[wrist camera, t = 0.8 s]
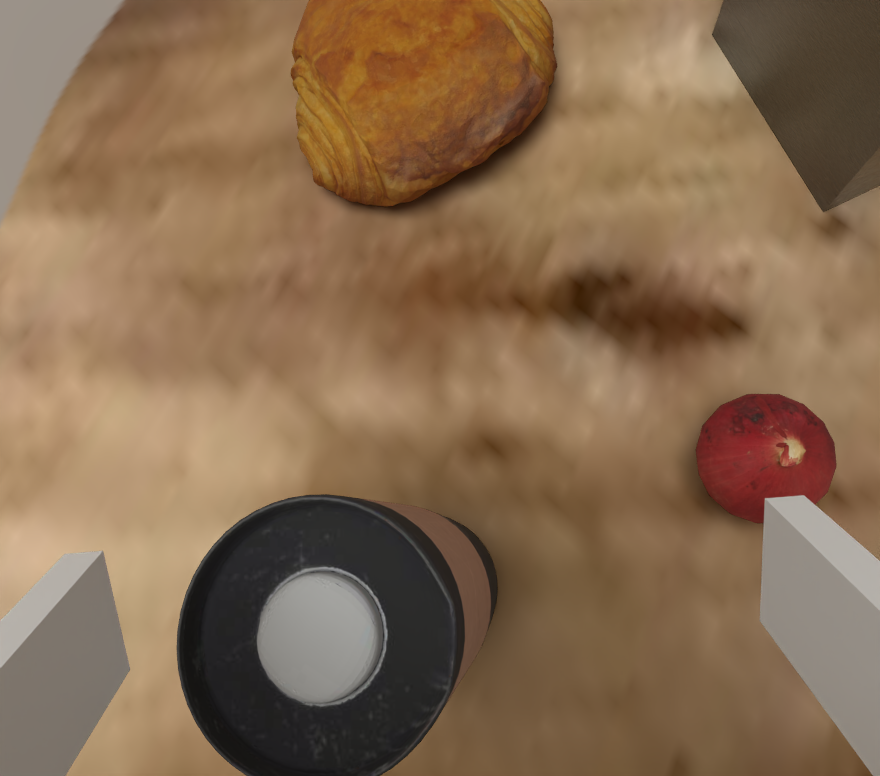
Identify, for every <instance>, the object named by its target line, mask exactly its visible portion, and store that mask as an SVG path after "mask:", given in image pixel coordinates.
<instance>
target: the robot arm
mask: <svg viewBox="0 0 880 776" xmlns="http://www.w3.org/2000/svg"><path fill="white" fill-rule="evenodd" d="M760 622H761V623H762V624H763V626H764V627H765V629H766V630H767V631H768V633H769V634H770V635H771V637H772V638H773V640H774V641H775V642H776V644H777V645H778V646H779V648H780V649H781V650H782V652H783V653H784V655H785V656H786V657H787V659H788V660H789V661H790V663H791V664H792V666H793V667H794V668H795V670H796V671H797V672H798V674H799V675H800V676H801V678H802V679H803V681H804V682H805V683H806V685H807V686H808V687H809V689H810V690H811V691H812V693H813V694H814V696H815V697H816V698H817V700H818V701H819V702H820V704H821V705H822V707H823V708H824V709H825V711H826V712H827V713H828V715H829V716H830V717H831V719H832V720H833V722H834V723H835V724H836V726H837V727H838V728H839V730H840V731H841V733H842V734H843V735H844V737H845V738H846V739H847V741H848V742H849V743H850V745H851V746H852V748H853V749H854V750H855V752H856V753H857V754H858V756H859V757H860V758H861V760H862V761H863V763H864V764H865V765H866V767H867V768H868V769H869V771H870V772H871V774H872V775H873V776H880V561H879V560H878V559H877V558H876V557H875V556H873V555H872V554H871V553H870V552H869V551H868V550H866V549H865V548H864V547H863V546H862V545H861V544H860V543H858V542H857V541H856V540H855V539H854V538H853V537H851V536H850V535H849V534H848V533H847V532H846V531H845V530H843V529H842V528H841V527H840V526H839V525H838V524H836V523H835V522H834V521H833V520H832V519H831V518H830V517H828V516H827V515H826V514H825V513H824V512H823V511H821V510H820V509H819V508H818V507H817V506H816V505H815V504H813V503H812V502H811V501H810V500H809V499H808V498H806V497H805V496H804V495H801V496H789V497H776V498H765V505H764V530H763V555H762V580H761V605H760ZM129 670H130V667H129V662H128V658H127V653H126V649H125V645H124V640H123V636H122V632H121V627H120V623H119V619H118V614H117V610H116V605H115V601H114V597H113V592H112V588H111V584H110V579H109V575H108V571H107V566H106V562H105V557H104V553H103V551H95V552H83V553H70V554H64V555H63V556H62V557H61V558H60V559H59V561H58V562H57V563H56V564H55V565H54V566H53V567H52V568H51V569H50V570H49V571H48V572H47V573H46V574H45V575H44V576H43V577H42V578H41V579H40V580H39V581H38V582H37V583H36V584H35V585H34V586H33V587H32V588H31V589H30V590H29V592H28V593H27V594H26V595H25V596H24V597H23V598H22V599H21V600H20V601H19V602H18V603H17V604H16V605H15V606H14V607H13V608H12V609H11V610H10V611H9V612H8V613H7V614H6V615H5V616H4V617H3V618H2V619H1V620H0V776H65V775H66V774H67V772H68V770H69V769H70V767H71V766H72V764H73V762H74V761H75V759H76V757H77V756H78V754H79V752H80V751H81V749H82V747H83V746H84V744H85V743H86V741H87V739H88V738H89V736H90V734H91V733H92V731H93V729H94V728H95V726H96V725H97V723H98V721H99V720H100V718H101V716H102V715H103V713H104V711H105V710H106V708H107V707H108V705H109V703H110V702H111V700H112V698H113V697H114V695H115V693H116V692H117V690H118V689H119V687H120V685H121V684H122V682H123V680H124V679H125V677H126V675H127V674H128V672H129Z"/></svg>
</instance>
